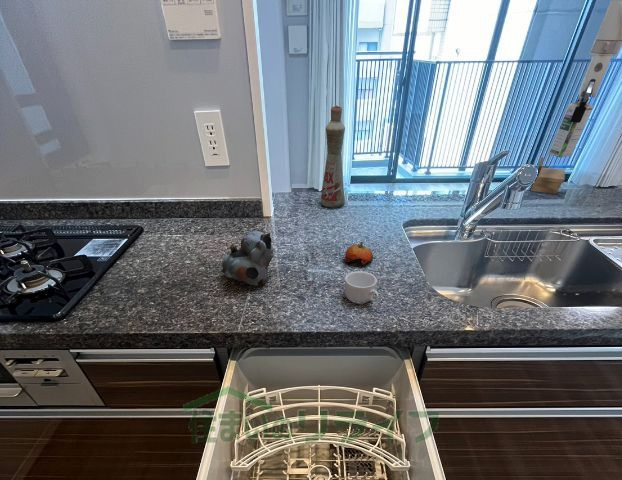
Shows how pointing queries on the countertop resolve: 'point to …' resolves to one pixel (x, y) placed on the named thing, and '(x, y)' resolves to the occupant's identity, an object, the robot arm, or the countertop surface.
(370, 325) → the countertop surface
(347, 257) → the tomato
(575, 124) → the syrup box
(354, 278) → the teacup
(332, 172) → the bottle
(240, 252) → the lucky cat figurine
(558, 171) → the small cardboard box
